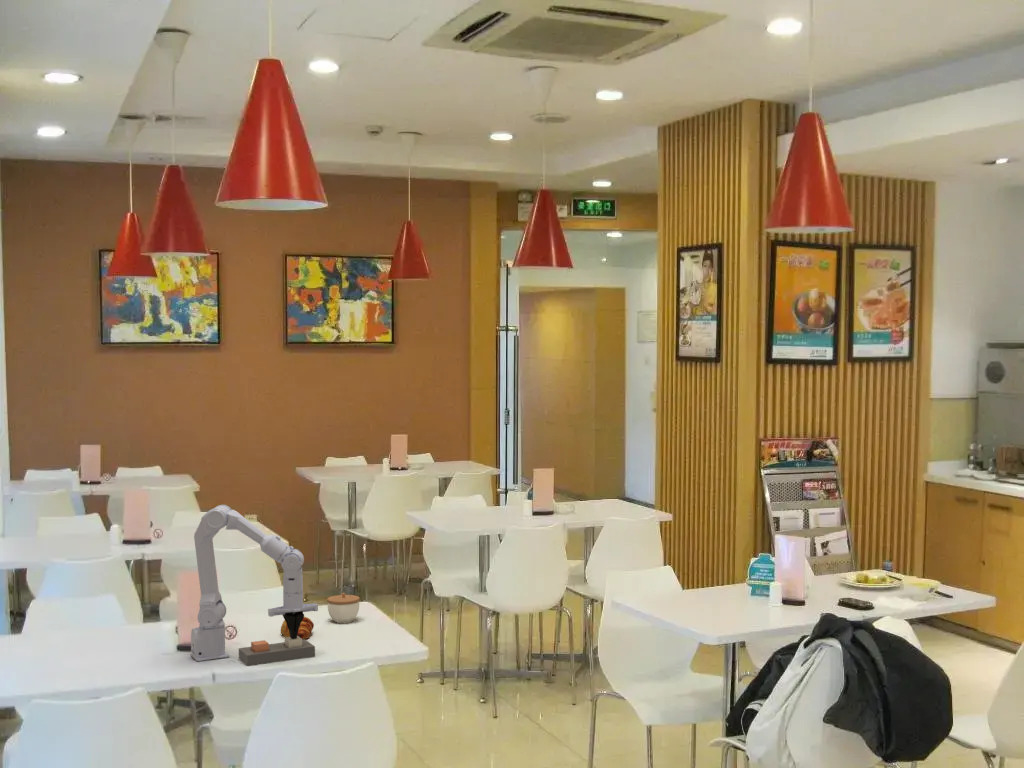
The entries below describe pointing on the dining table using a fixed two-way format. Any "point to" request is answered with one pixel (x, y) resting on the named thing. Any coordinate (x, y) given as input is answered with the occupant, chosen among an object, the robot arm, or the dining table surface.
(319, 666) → the dining table surface
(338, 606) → the lidded jar
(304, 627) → the croissant
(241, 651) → the key block
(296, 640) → the beige key
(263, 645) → the terracotta key
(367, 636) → the dining table surface
